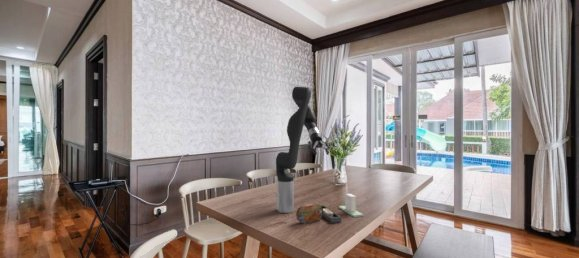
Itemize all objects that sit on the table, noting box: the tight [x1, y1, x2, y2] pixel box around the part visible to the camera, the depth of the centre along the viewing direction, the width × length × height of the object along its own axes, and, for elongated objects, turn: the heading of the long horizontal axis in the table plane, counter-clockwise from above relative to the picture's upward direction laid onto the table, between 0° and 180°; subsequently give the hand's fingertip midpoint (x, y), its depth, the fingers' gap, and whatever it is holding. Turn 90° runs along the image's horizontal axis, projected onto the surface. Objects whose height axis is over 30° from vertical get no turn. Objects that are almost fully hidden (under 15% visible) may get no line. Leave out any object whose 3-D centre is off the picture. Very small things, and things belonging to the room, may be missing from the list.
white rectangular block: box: [344, 193, 357, 212], centre depth 139 cm, size 3×6×8 cm, turn 17°
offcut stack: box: [323, 207, 333, 217], centre depth 133 cm, size 3×10×3 cm, turn 15°
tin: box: [295, 203, 323, 225], centre depth 125 cm, size 15×3×8 cm, turn 118°
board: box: [338, 205, 364, 218], centre depth 139 cm, size 6×16×1 cm, turn 18°
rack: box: [321, 204, 342, 224], centre depth 132 cm, size 6×20×2 cm, turn 18°
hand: (322, 154), depth 157 cm, fingers open, 8 cm apart
